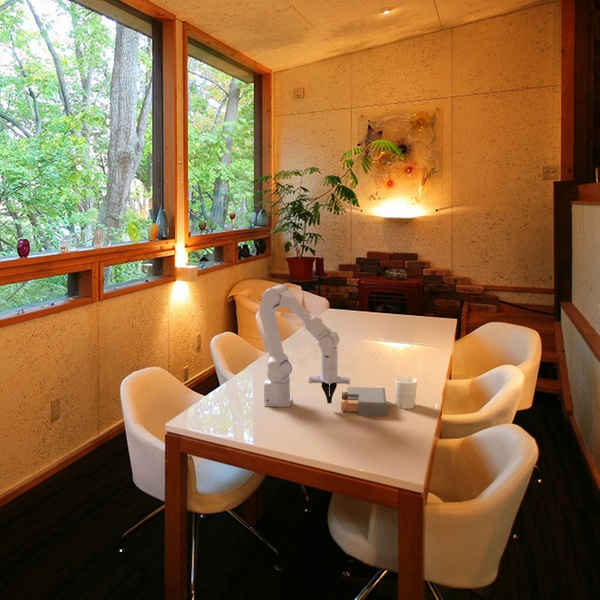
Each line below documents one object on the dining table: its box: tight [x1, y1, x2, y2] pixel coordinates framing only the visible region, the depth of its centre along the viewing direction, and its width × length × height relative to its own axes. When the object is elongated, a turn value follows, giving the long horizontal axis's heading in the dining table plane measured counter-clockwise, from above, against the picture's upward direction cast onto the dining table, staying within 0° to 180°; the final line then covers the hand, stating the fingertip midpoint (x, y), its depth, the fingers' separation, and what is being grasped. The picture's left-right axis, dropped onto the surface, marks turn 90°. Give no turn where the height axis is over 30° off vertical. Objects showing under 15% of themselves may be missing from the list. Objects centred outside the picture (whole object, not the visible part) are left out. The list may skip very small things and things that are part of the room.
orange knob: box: [340, 399, 358, 412], centre depth 185 cm, size 11×4×4 cm, turn 83°
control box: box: [347, 386, 387, 417], centre depth 188 cm, size 14×14×5 cm
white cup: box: [394, 375, 418, 410], centre depth 189 cm, size 8×8×10 cm
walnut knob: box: [341, 391, 348, 401], centre depth 193 cm, size 11×4×4 cm, turn 83°
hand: (329, 402), depth 186 cm, fingers closed
